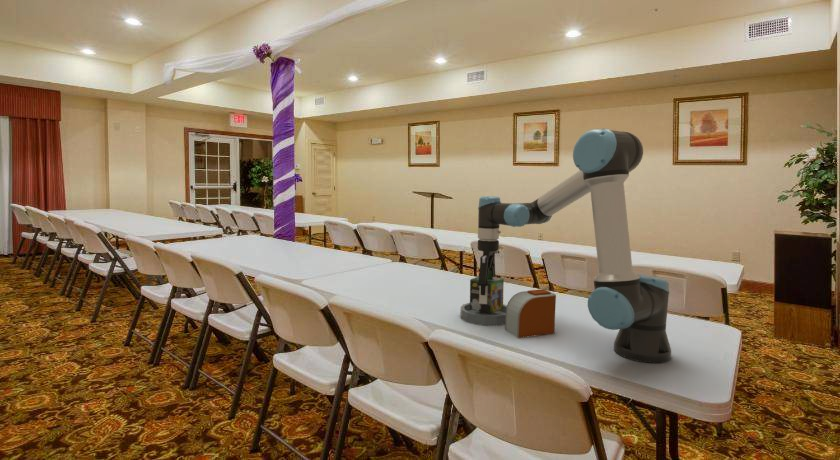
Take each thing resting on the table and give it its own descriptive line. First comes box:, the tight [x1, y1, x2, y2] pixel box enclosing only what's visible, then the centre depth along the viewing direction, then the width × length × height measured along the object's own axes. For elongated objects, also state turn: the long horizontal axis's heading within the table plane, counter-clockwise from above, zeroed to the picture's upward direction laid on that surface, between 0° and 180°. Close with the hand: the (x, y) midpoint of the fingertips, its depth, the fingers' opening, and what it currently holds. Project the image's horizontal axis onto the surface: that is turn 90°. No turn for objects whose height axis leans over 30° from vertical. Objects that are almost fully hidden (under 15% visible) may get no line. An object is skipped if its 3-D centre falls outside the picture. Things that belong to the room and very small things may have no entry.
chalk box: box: [469, 271, 505, 314], centre depth 168 cm, size 9×9×15 cm
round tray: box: [459, 302, 507, 327], centre depth 169 cm, size 18×18×3 cm
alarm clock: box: [504, 288, 557, 339], centre depth 154 cm, size 15×8×14 cm, turn 111°
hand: (486, 299), depth 168 cm, fingers closed on chalk box, 10 cm apart
